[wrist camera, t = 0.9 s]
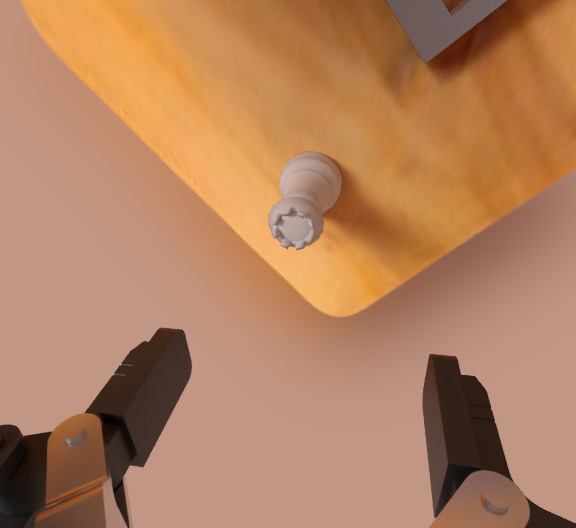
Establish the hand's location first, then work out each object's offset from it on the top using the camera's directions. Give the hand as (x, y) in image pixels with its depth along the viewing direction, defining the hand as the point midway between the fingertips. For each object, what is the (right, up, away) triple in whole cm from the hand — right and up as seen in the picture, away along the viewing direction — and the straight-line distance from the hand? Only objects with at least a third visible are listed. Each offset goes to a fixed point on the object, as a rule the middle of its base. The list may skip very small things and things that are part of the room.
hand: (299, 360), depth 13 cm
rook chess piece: (+1, +9, +16) cm, 19 cm away
